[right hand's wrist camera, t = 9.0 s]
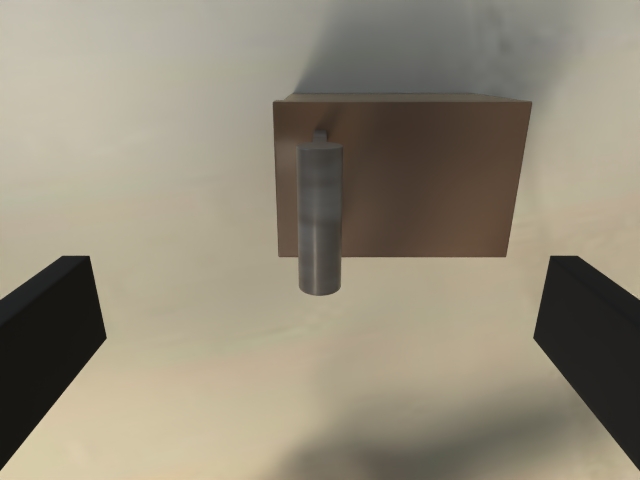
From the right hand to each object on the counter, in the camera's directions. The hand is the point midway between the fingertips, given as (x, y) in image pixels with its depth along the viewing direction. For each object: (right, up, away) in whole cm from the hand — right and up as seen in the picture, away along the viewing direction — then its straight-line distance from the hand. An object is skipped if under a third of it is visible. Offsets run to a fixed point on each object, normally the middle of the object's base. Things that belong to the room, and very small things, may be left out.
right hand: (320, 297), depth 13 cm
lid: (+5, +5, +14) cm, 16 cm away
